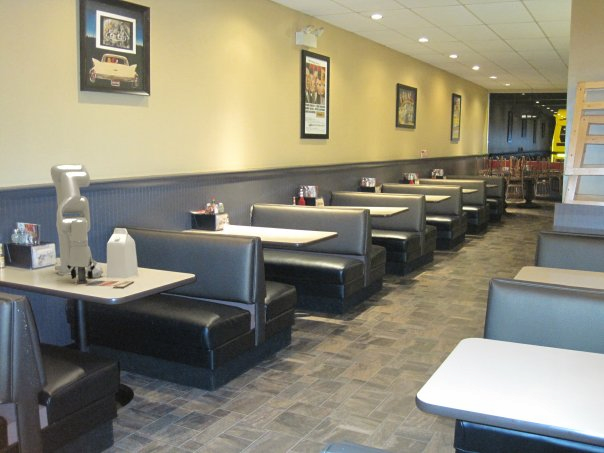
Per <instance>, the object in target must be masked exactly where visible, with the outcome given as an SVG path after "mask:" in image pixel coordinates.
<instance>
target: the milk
mask: <svg viewBox="0 0 604 453" xmlns="http://www.w3.org/2000/svg"><path fill="white" fill-rule="evenodd" d="M136 247H137V246H136V242H135V239H134V238H133V237H132V236H131V235H130V234H129V233H128V230H127V228H118V227H116V228H114V230H113V233H112V234H111V236H110V238H109V240H108V241H107V243H106V278H121V279H122V278H123V279H127V278H130V277H134V276H135V277H137V276H139V267H138V256H137V248H136Z"/></svg>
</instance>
